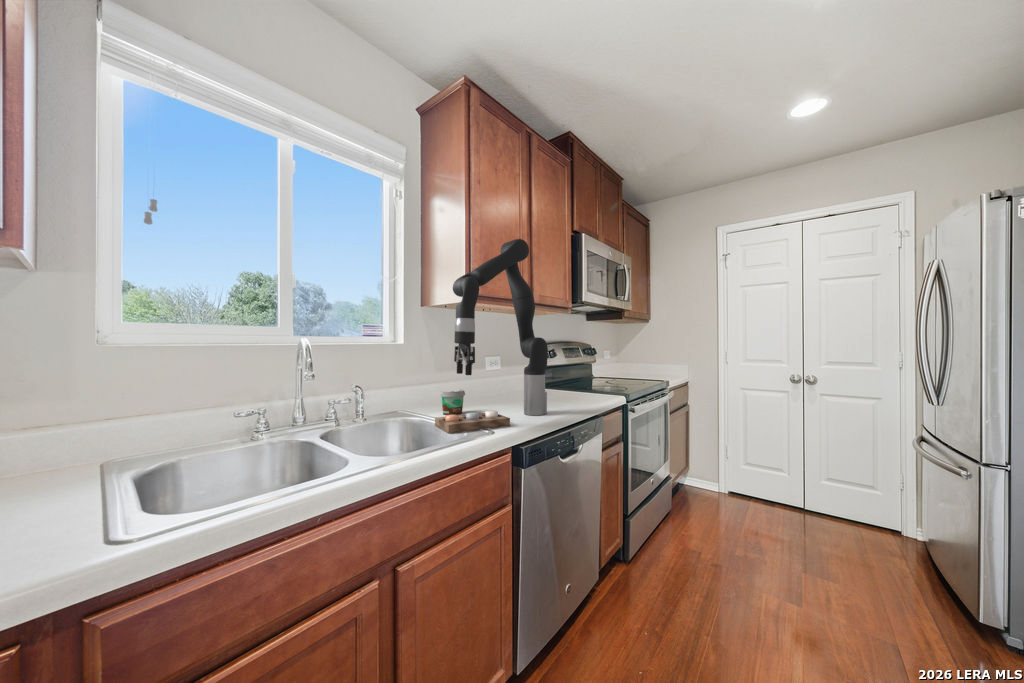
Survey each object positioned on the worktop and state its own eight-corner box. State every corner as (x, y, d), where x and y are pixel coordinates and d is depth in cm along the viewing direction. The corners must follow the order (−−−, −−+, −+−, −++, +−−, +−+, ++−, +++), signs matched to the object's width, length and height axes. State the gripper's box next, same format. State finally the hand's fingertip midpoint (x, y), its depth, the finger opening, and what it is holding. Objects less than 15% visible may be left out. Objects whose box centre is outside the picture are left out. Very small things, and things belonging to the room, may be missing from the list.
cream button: (494, 418, 149) (494, 410, 149) (500, 420, 145) (500, 412, 145) (483, 419, 146) (483, 411, 146) (488, 421, 142) (488, 413, 142)
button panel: (492, 419, 154) (492, 411, 154) (509, 426, 142) (509, 418, 142) (434, 425, 142) (435, 417, 142) (448, 433, 129) (448, 424, 129)
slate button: (475, 420, 145) (475, 412, 145) (481, 422, 141) (481, 414, 141) (463, 421, 142) (463, 413, 142) (469, 423, 138) (469, 415, 138)
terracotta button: (455, 422, 141) (455, 414, 141) (460, 424, 137) (460, 416, 137) (443, 423, 138) (443, 415, 138) (448, 426, 134) (448, 417, 134)
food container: (450, 417, 158) (450, 392, 158) (440, 415, 162) (440, 391, 162) (471, 412, 168) (471, 390, 168) (461, 411, 172) (461, 388, 172)
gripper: (482, 330, 138) (481, 375, 138) (466, 331, 150) (465, 372, 150) (462, 330, 134) (461, 376, 134) (448, 331, 147) (447, 373, 146)
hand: (463, 374), depth 142 cm, fingers open, 8 cm apart
